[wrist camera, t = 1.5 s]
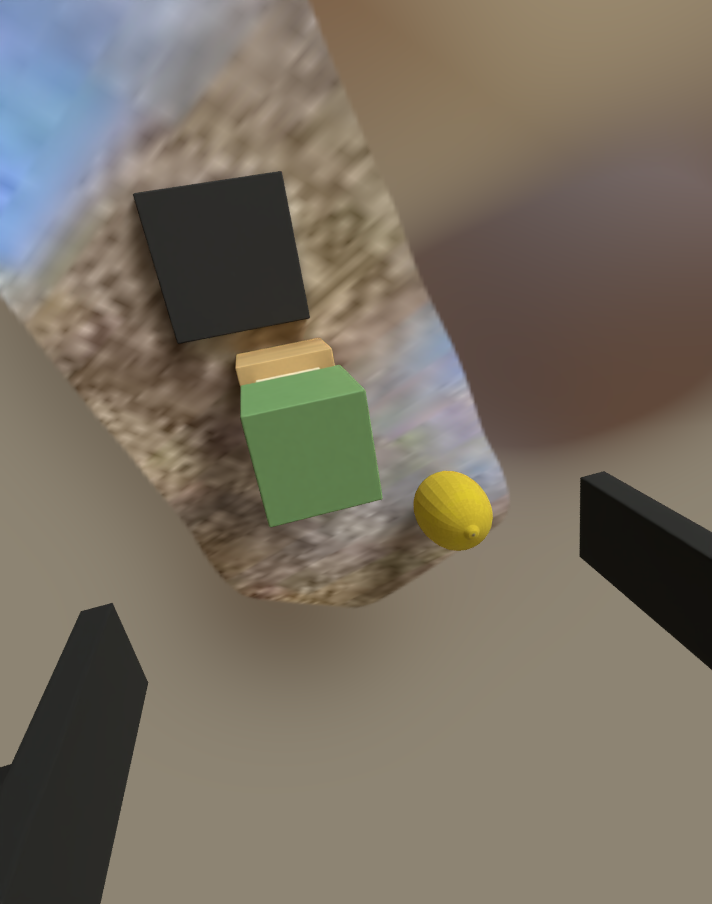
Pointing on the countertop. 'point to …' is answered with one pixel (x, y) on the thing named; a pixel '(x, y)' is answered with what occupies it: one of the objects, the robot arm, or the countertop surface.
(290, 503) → the green block
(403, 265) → the countertop surface
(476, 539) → the lemon
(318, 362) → the maple block
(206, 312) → the coaster
